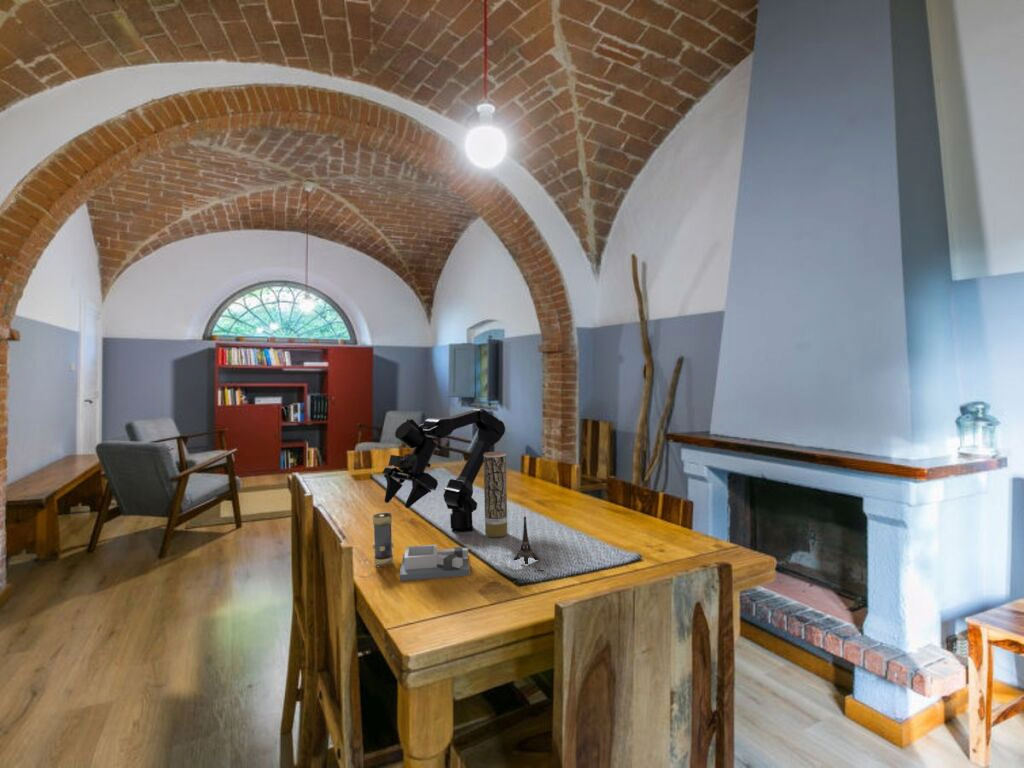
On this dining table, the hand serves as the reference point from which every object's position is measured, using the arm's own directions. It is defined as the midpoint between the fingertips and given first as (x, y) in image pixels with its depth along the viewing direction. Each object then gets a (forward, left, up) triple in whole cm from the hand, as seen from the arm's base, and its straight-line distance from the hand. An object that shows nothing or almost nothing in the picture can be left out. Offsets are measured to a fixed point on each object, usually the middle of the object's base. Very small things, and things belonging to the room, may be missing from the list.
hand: (395, 505), depth 143 cm
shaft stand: (-11, +14, -13) cm, 22 cm away
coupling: (+3, +8, -13) cm, 16 cm away
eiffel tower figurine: (-34, +13, -14) cm, 39 cm away
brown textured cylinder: (-29, -9, -14) cm, 33 cm away
